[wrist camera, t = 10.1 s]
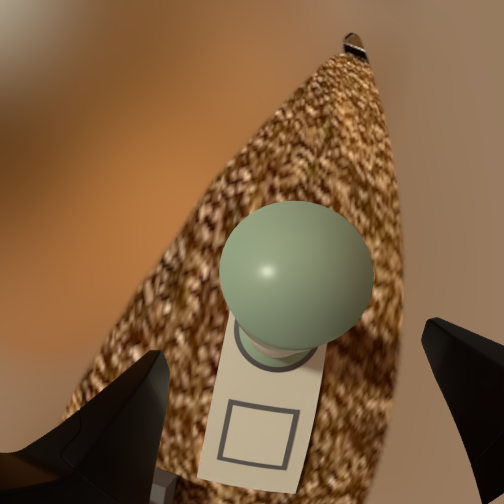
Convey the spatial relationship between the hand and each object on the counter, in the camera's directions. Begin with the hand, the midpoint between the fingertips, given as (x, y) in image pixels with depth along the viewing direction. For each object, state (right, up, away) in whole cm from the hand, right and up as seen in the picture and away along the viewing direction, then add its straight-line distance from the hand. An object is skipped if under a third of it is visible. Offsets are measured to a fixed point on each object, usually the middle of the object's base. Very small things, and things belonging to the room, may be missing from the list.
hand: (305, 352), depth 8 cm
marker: (0, -3, +12) cm, 12 cm away
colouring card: (-1, -7, +10) cm, 13 cm away
